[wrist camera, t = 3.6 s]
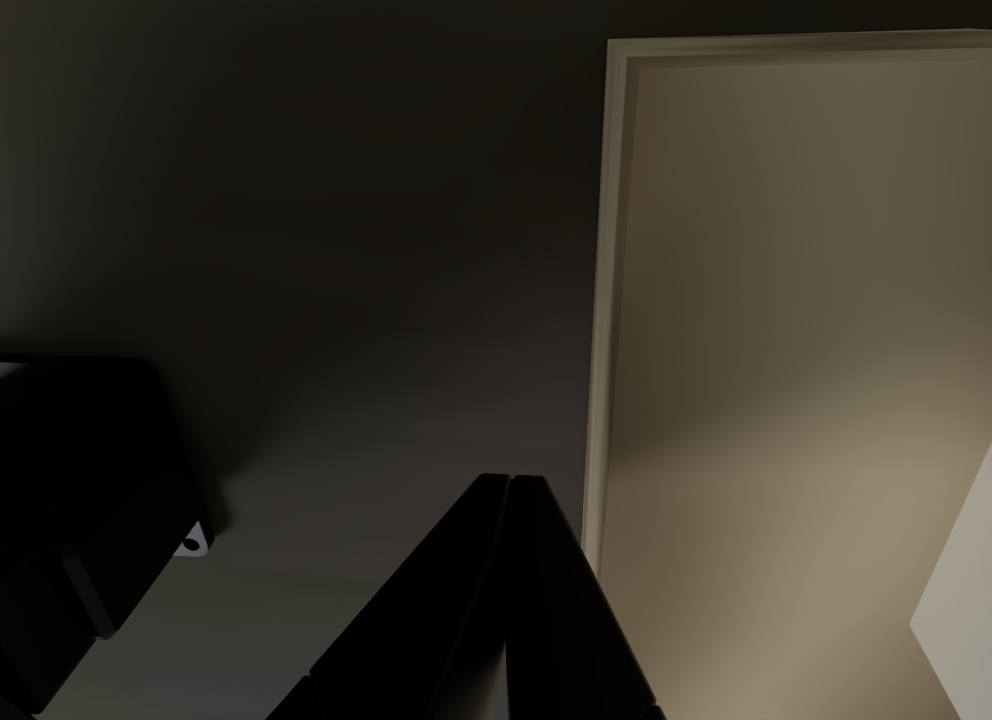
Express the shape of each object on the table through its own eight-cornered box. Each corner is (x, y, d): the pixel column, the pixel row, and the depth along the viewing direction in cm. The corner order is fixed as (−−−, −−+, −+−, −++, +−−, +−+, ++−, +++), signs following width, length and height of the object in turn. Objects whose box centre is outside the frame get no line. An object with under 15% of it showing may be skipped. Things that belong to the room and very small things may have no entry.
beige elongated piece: (573, 705, 21) (573, 936, 16) (607, 39, 11) (638, 68, 6) (920, 735, 20) (1044, 994, 15) (1307, 18, 10) (2119, 33, 5)
